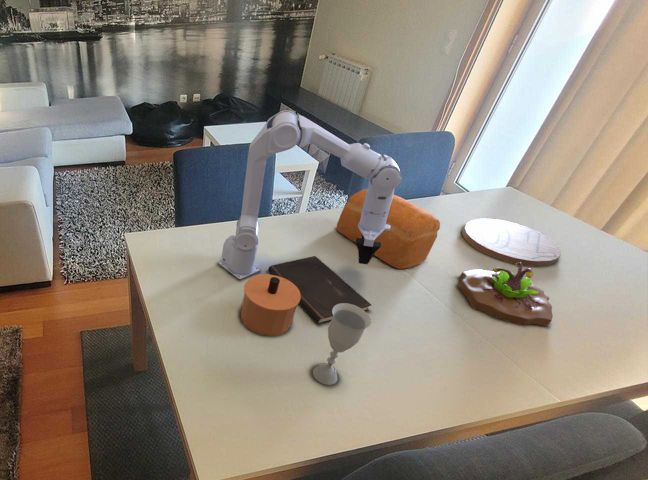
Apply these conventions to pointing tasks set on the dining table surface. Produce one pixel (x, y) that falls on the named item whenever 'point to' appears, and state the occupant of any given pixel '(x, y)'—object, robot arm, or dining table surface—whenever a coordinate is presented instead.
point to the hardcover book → (318, 287)
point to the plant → (507, 295)
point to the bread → (394, 230)
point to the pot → (265, 319)
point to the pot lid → (272, 292)
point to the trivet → (511, 242)
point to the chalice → (342, 337)
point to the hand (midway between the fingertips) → (364, 255)
